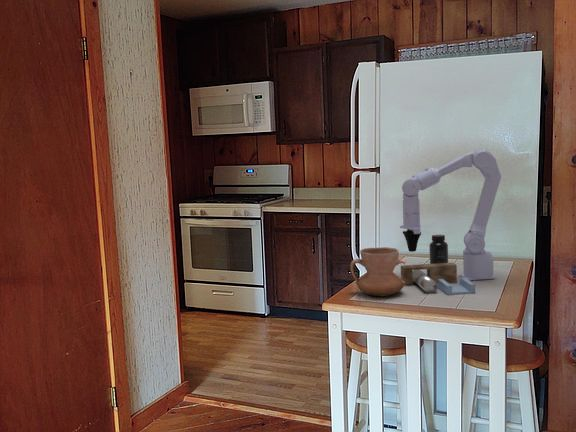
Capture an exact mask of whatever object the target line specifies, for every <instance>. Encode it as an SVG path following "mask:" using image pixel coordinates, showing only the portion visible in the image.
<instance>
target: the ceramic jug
mask: <svg viewBox="0 0 576 432" xmlns="http://www.w3.org/2000/svg"><path fill="white" fill-rule="evenodd" d="M359 251H360V258H355V259H352V261H351V262H350V272H351V275H352V276H353V279H354V280H355V284H356V286H357V287H358V289H359V291H361V292H362V293H363V294H366V295H369V296H372V297H373V296H375V297H389V296H393V295H395V294H398V293H399V292H401V291H402V290H403V288H404V287H405V286H404V285H405V282H404V281H403V280H402V279H401V276H399V275H398V274H395V272H394V271H395V268H396V267H397V266H399V264H403V265H406V263H407V260H406V259H404V258H400V259H399V249H398V248H395V247H389V246H388V247H385V246H384V247H383V246H382V247H365V248H362V249H361V248H360V250H359ZM356 264H359V265H361V266H362V267H363V268H364V269H365V270H366V273H365V274H364V275H363V276H362V277H361V276H360V278H359V277H358V275H357V273H356V269H355V266H356Z"/></svg>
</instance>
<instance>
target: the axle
mask: <svg viewBox="0 0 576 432" xmlns="http://www.w3.org/2000/svg"><path fill="white" fill-rule="evenodd" d="M413 283H415V284H416V285H417V286H418V287H419V288H420V289H422V290H423V291H424V292H425V293H427V294H435V293H436V292H437V291H438V289H439V288H438V284H437V283H436V282H435V281H434V280H432V279H431V278H430V277H429V276H427V273H425V272H423V271H422V269H421V270H413Z"/></svg>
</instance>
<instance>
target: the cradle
mask: <svg viewBox="0 0 576 432" xmlns="http://www.w3.org/2000/svg"><path fill="white" fill-rule="evenodd" d="M437 285H438V289H440V291H442V292H443V293H444V294H445V295H448V296H449V295H451V296H452V295H465V294H466V295H467V294H475V293H476V283H474V282H472V280H468V279H466V278H463V277H459V283H458V284H450V283H447V282H446V281H445V280H443V279H438V284H437Z"/></svg>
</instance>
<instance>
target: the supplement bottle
mask: <svg viewBox="0 0 576 432" xmlns="http://www.w3.org/2000/svg"><path fill="white" fill-rule="evenodd" d="M445 237H446V236H445V234H433V235H431V242H430V243H429V245H428V246H429V247H428V248H429V249H428V250H429V264H436V263H449V244H448V243H447V242H446V238H445Z"/></svg>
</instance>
